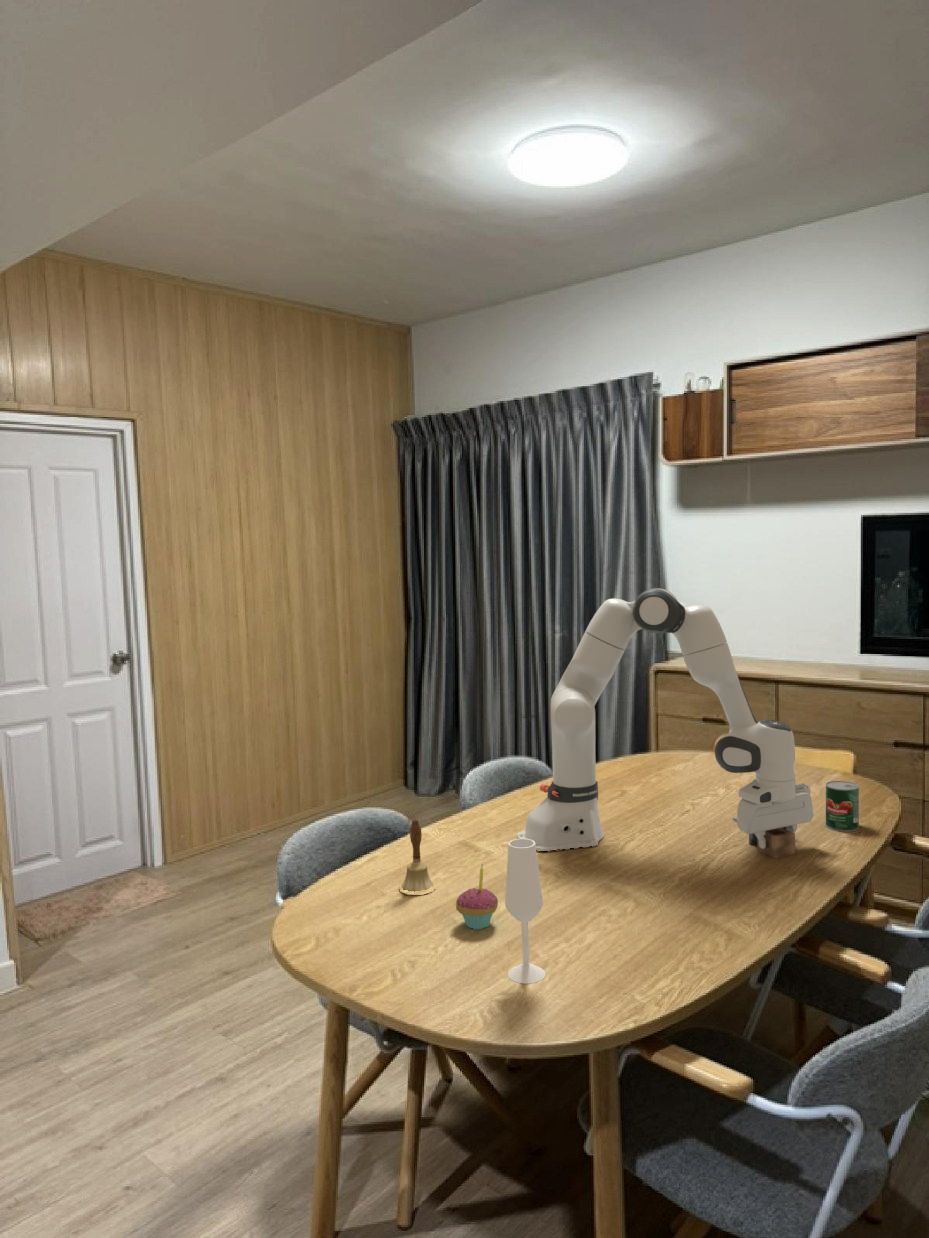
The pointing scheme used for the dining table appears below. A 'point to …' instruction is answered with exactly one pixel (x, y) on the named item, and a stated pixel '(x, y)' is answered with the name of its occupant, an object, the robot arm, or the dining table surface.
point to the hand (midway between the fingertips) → (776, 844)
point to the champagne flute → (523, 901)
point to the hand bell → (416, 864)
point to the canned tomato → (842, 806)
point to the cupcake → (477, 905)
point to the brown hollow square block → (779, 843)
